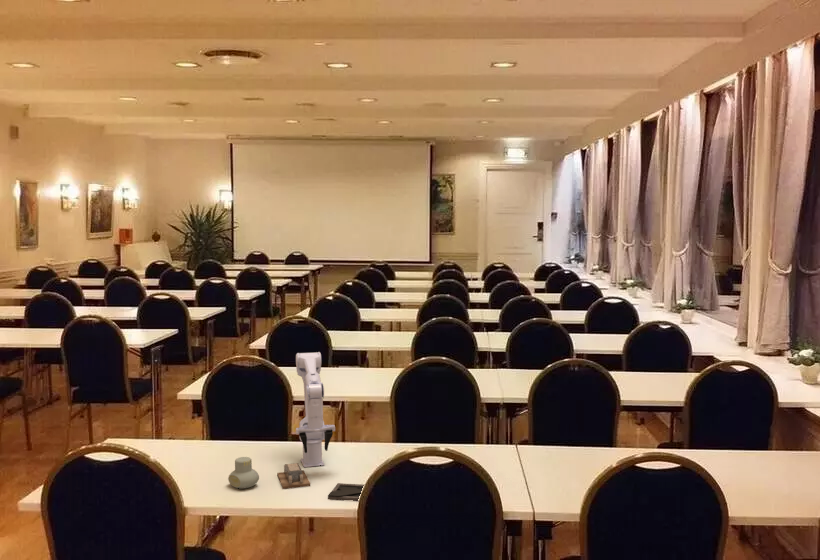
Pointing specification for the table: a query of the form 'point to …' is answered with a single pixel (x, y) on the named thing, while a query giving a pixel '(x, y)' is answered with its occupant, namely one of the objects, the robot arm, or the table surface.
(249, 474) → the air freshener
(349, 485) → the picture frame
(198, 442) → the table surface
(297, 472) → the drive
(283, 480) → the pegged wooden board
